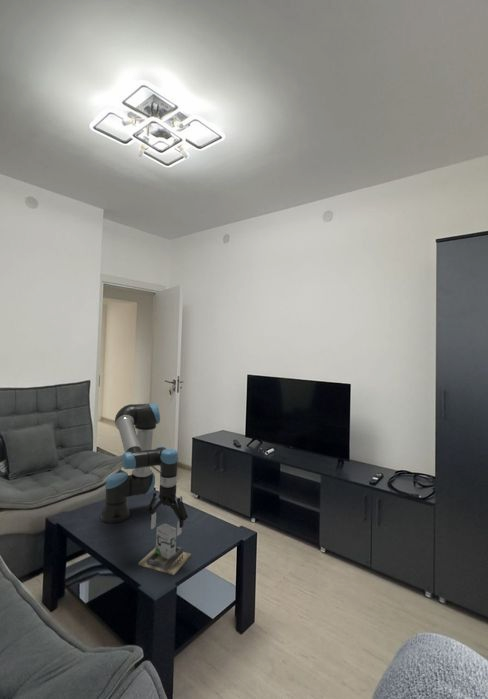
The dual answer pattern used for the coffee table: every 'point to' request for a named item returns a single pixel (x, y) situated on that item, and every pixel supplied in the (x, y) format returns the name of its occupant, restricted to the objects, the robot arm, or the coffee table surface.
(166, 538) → the ink box
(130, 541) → the coffee table surface
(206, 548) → the coffee table surface
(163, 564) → the header board
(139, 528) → the coffee table surface
